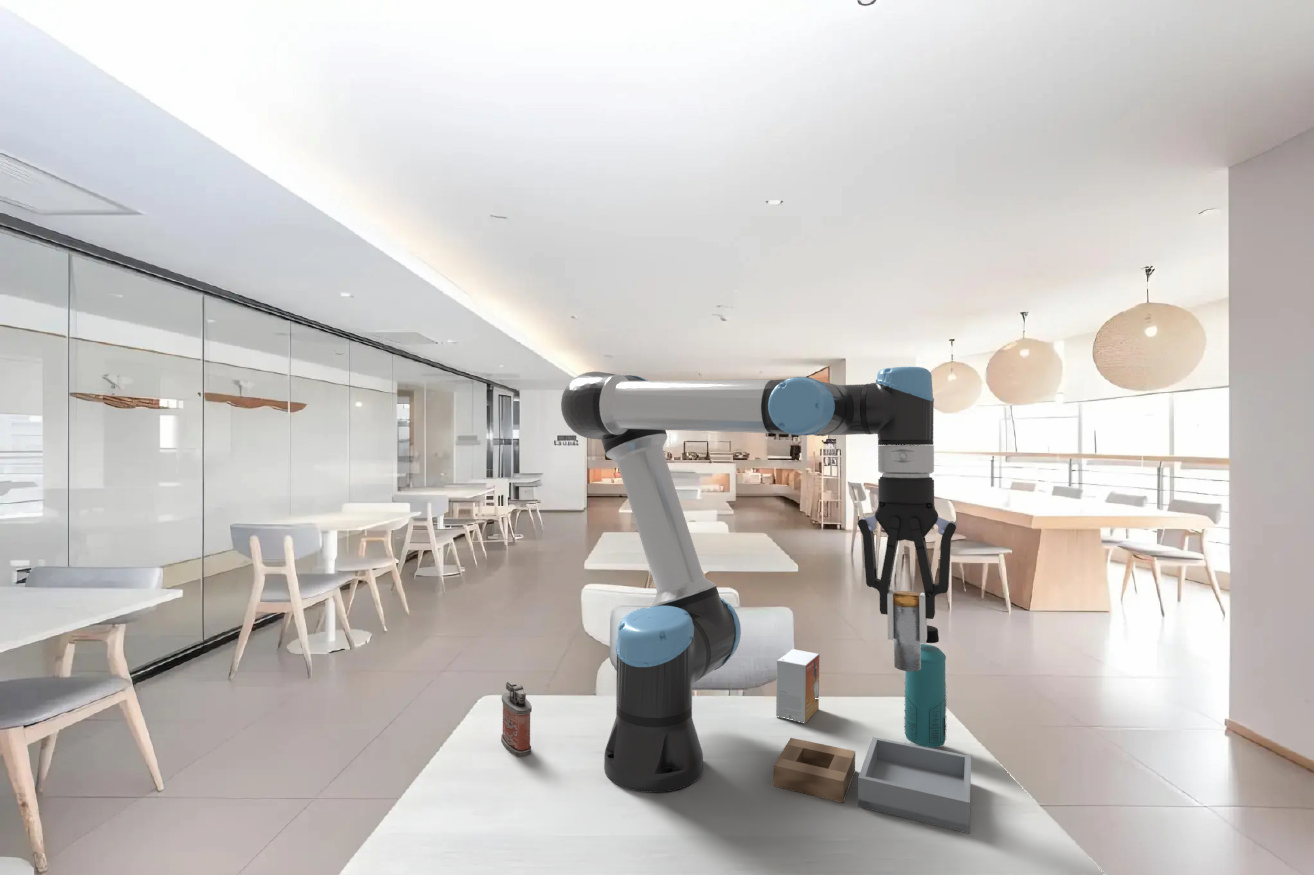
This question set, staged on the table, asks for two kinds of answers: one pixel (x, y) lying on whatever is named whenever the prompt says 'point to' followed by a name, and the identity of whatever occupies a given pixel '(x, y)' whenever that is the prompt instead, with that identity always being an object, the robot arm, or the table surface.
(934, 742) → the beverage bottle
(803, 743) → the block
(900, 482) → the robot arm
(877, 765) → the tray
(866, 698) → the table surface
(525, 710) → the lighter
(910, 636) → the pin
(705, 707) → the table surface
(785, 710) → the small box
